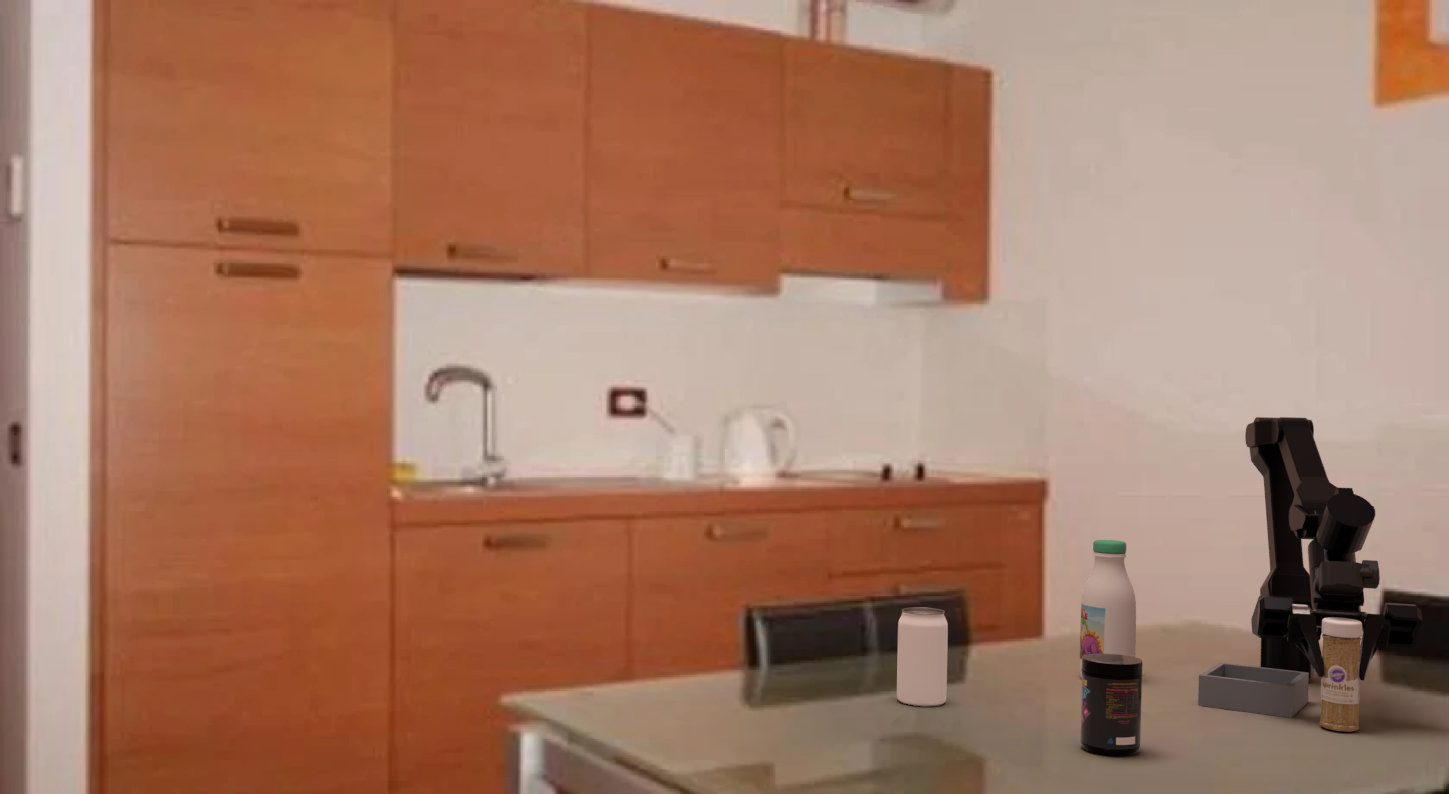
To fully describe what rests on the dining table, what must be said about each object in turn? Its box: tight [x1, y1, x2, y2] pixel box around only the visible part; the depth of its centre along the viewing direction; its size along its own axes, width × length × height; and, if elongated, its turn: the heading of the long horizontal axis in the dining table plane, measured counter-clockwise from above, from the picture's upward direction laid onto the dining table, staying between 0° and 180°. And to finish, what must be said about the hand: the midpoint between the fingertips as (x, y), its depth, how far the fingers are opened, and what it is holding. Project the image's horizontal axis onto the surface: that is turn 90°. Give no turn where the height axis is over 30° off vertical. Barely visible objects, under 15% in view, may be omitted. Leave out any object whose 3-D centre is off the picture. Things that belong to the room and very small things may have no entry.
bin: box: [1197, 661, 1310, 719], centre depth 184 cm, size 12×12×4 cm
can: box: [896, 606, 949, 708], centre depth 181 cm, size 6×6×12 cm
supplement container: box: [1079, 654, 1143, 757], centre depth 157 cm, size 7×7×10 cm
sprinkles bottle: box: [1319, 617, 1363, 733], centre depth 170 cm, size 5×5×14 cm
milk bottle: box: [1079, 539, 1137, 679], centre depth 199 cm, size 8×8×20 cm
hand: (1341, 677), depth 169 cm, fingers closed on sprinkles bottle, 4 cm apart
